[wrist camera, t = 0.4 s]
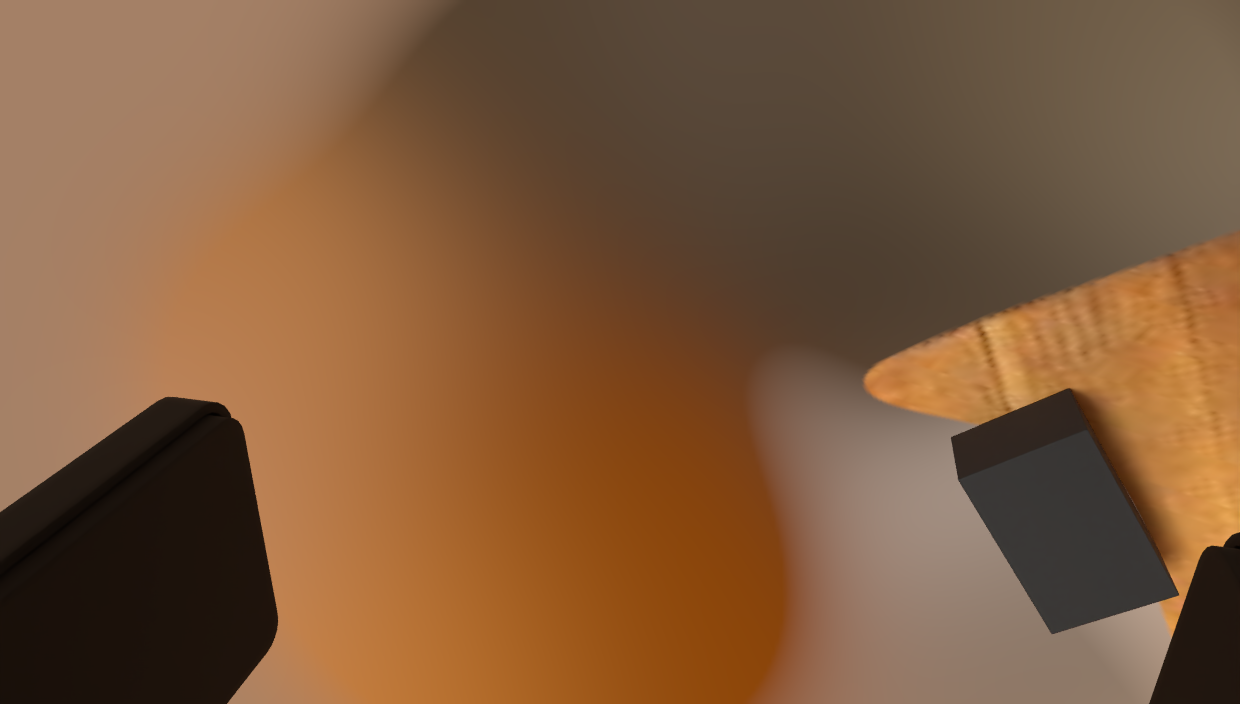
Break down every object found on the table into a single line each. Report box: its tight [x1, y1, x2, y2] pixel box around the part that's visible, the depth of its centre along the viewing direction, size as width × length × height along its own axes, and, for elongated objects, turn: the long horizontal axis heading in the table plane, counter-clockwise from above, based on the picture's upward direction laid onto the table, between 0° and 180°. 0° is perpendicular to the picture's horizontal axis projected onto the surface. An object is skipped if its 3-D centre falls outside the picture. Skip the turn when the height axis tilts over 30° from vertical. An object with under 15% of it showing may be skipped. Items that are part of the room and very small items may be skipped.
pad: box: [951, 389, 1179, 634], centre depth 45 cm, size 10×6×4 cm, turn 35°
